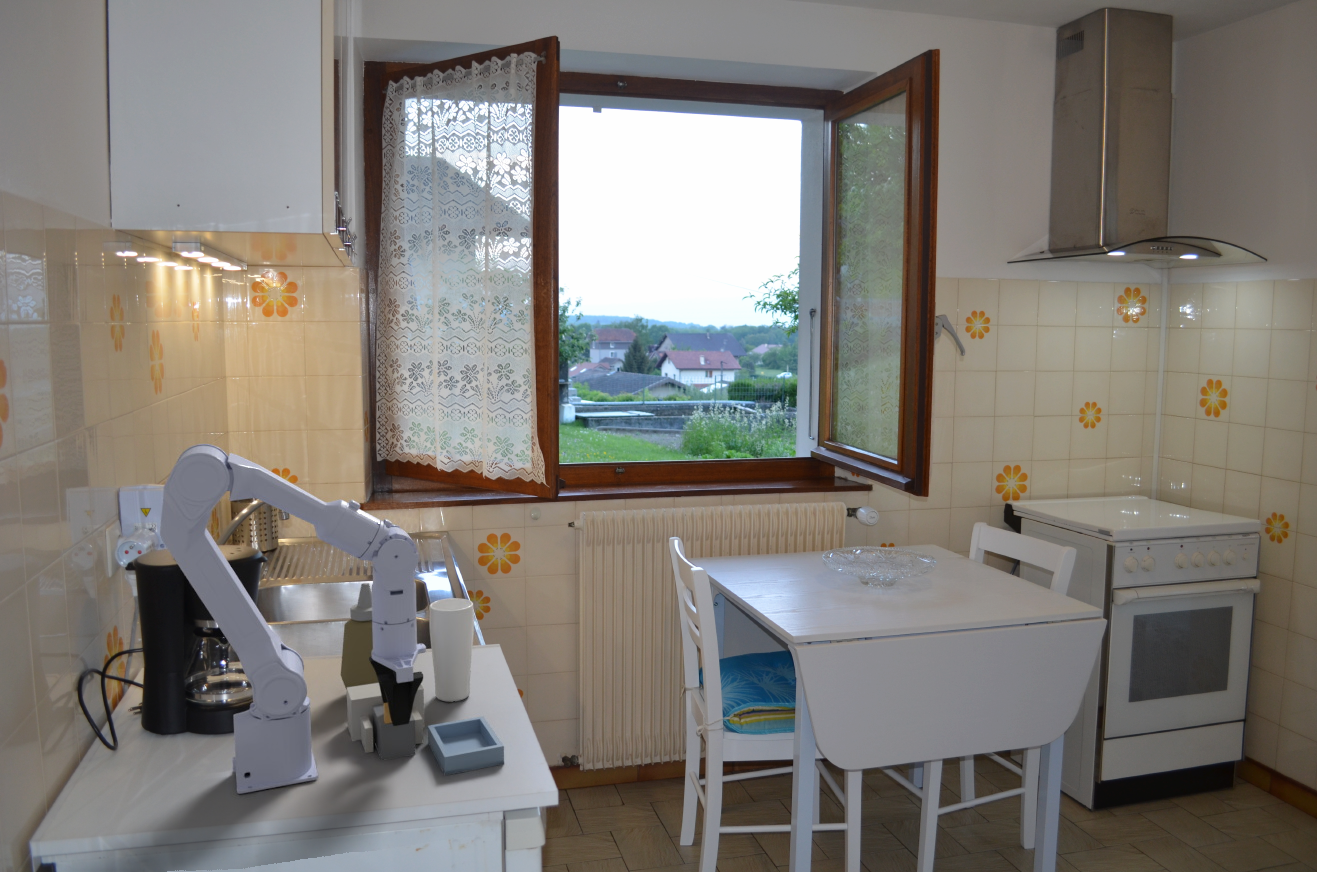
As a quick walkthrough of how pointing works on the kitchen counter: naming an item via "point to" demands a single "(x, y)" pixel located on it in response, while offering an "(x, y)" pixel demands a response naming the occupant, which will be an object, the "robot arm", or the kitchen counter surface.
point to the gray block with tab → (392, 734)
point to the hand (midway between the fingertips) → (396, 714)
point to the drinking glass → (452, 647)
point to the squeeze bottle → (359, 643)
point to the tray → (465, 745)
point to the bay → (362, 713)
